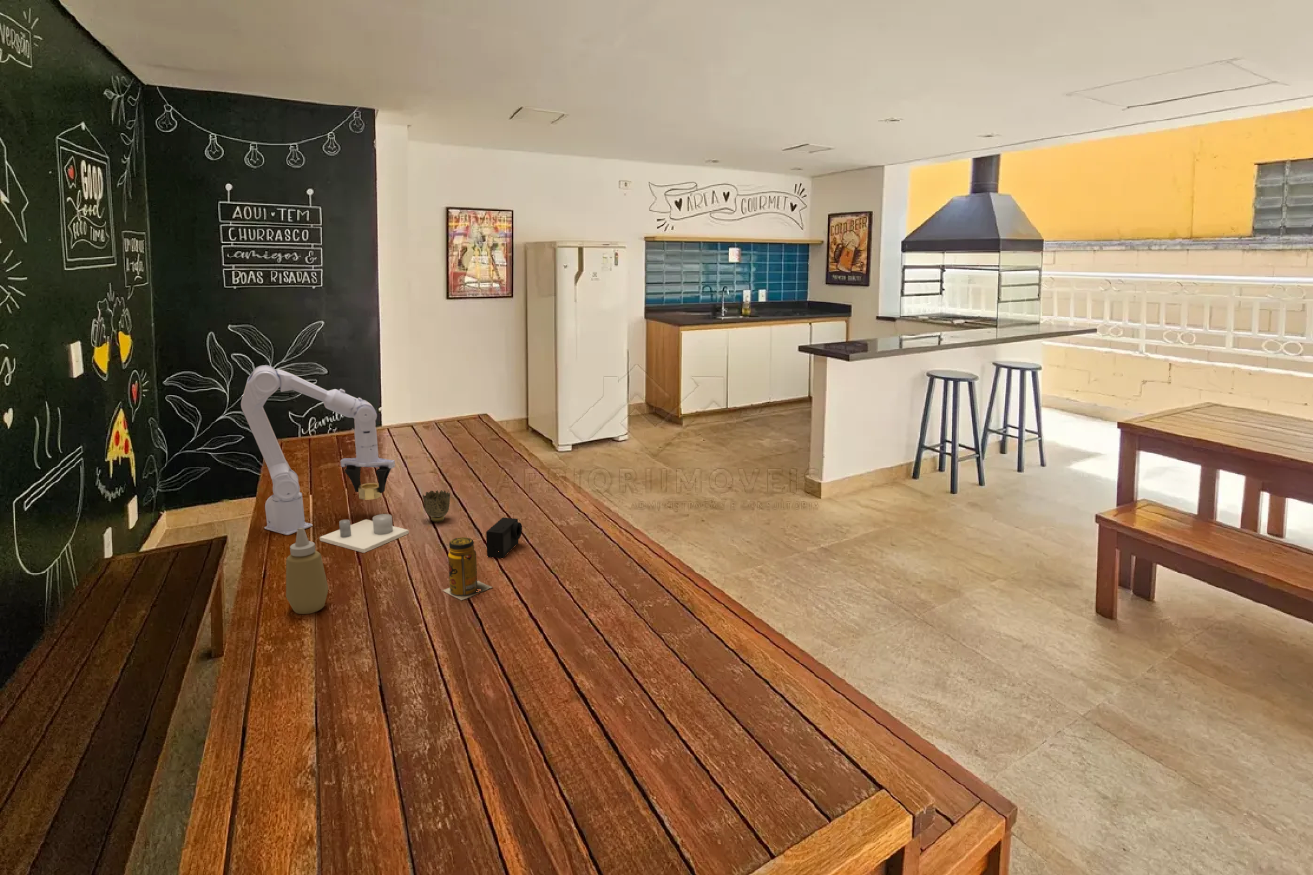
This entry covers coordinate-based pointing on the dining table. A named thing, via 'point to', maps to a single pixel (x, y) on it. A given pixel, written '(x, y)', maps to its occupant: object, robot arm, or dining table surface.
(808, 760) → the dining table surface
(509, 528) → the digital camera
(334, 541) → the stub board
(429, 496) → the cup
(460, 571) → the condiment
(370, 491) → the ring
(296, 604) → the squeeze bottle
